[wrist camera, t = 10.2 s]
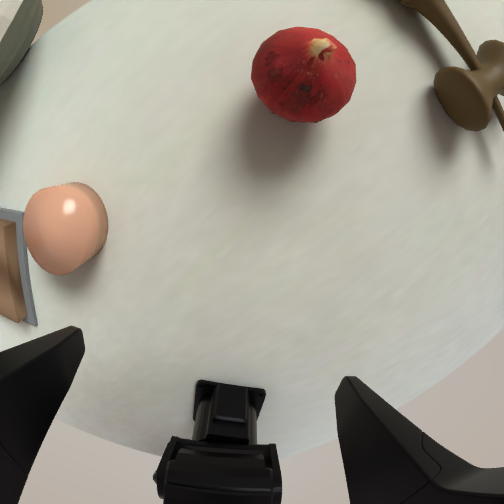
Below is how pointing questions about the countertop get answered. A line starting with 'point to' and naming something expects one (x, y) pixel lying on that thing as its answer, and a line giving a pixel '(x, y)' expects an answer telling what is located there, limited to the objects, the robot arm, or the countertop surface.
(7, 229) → the cover
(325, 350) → the countertop surface
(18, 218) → the mat
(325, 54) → the onion
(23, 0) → the bowl
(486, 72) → the kendama
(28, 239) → the peach rounded knob
